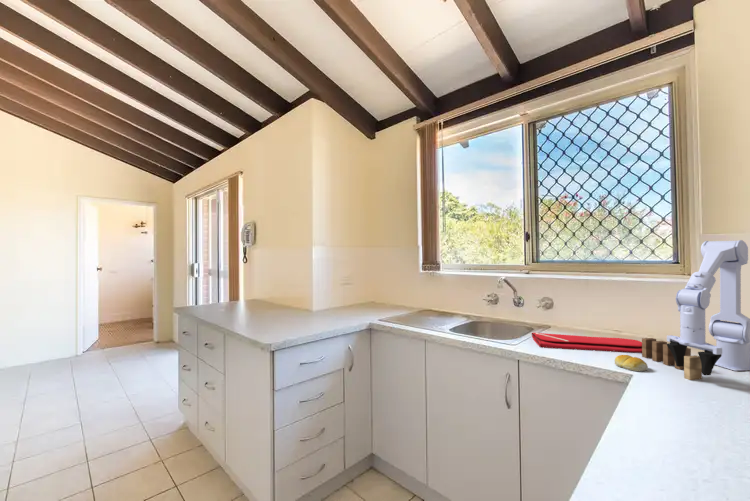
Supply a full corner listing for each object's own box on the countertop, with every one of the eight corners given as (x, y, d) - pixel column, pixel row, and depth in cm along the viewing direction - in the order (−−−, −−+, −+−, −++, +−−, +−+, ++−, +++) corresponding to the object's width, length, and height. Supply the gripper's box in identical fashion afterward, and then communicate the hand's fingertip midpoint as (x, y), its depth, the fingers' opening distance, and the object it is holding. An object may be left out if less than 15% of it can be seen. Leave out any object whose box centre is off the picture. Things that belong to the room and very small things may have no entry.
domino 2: (662, 359, 120) (662, 340, 120) (667, 361, 119) (667, 342, 119) (652, 360, 120) (652, 341, 120) (656, 361, 118) (656, 342, 118)
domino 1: (652, 356, 124) (652, 337, 124) (656, 357, 123) (656, 339, 123) (642, 356, 124) (641, 338, 124) (646, 358, 122) (645, 339, 122)
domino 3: (674, 363, 116) (673, 343, 116) (678, 364, 115) (678, 345, 115) (663, 364, 116) (662, 344, 116) (667, 365, 114) (667, 345, 114)
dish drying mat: (654, 355, 127) (654, 345, 127) (540, 349, 136) (540, 340, 136) (632, 343, 142) (632, 335, 142) (531, 338, 152) (531, 330, 152)
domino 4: (685, 367, 112) (685, 347, 112) (690, 369, 111) (690, 348, 111) (674, 368, 112) (674, 347, 112) (679, 369, 110) (679, 349, 110)
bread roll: (626, 362, 119) (626, 351, 119) (652, 371, 110) (652, 359, 110) (608, 363, 117) (608, 352, 117) (632, 373, 108) (632, 361, 108)
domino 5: (696, 377, 104) (696, 355, 104) (701, 379, 102) (701, 357, 102) (684, 378, 103) (684, 356, 103) (689, 380, 102) (689, 357, 102)
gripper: (658, 322, 109) (658, 363, 109) (707, 333, 95) (707, 380, 95) (677, 322, 110) (677, 362, 110) (728, 332, 96) (728, 378, 96)
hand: (692, 370), depth 103 cm, fingers open, 7 cm apart
